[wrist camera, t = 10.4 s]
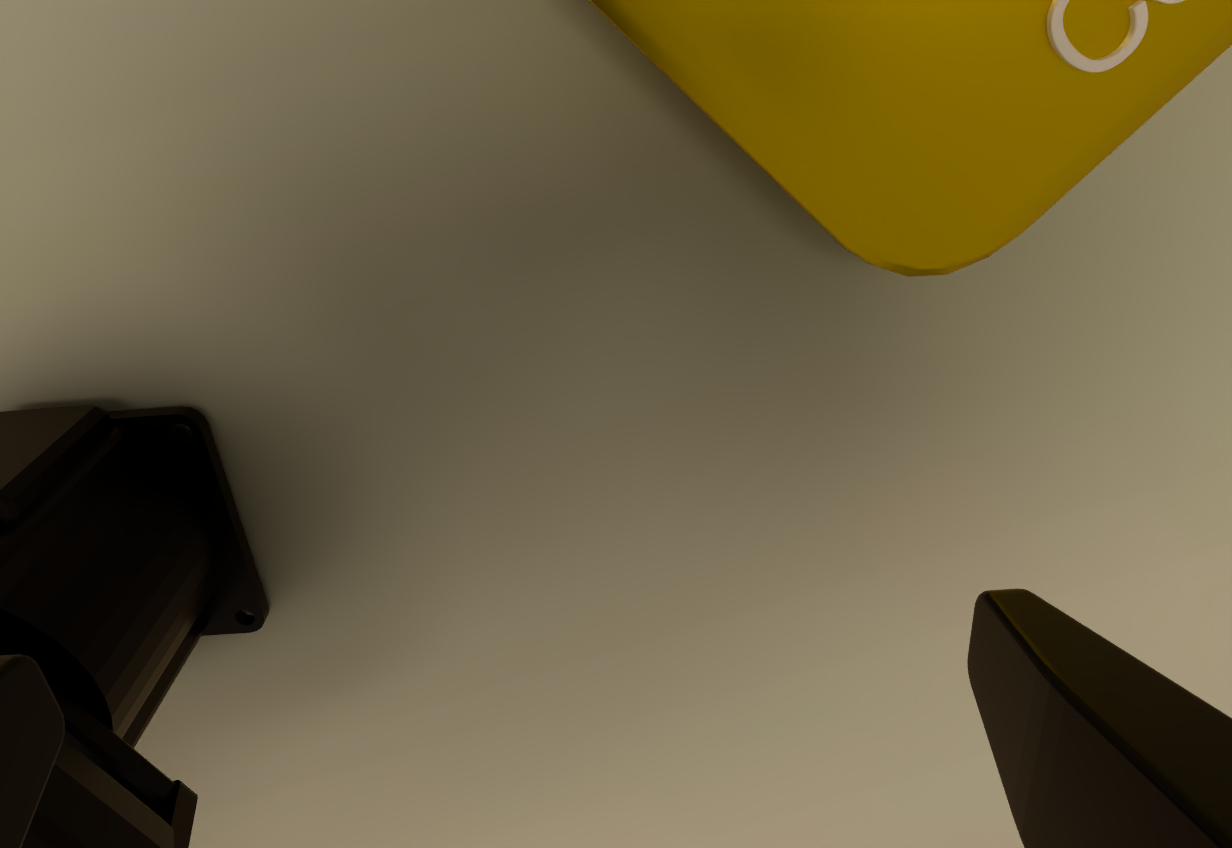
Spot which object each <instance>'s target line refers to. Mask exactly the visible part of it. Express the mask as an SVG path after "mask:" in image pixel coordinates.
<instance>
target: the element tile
mask: <svg viewBox="0 0 1232 848" xmlns="http://www.w3.org/2000/svg"><path fill="white" fill-rule="evenodd" d="M588 1H589V2H590V3H591V4H592V5H593V6H594V7H595V8H596V9H597V10H598V11H599V12H600V13H601V14H602V15H603V16H605V17H606V18H607V19H608V20H609V21H610V22H611V23H612V24H613V25H614V26H615V27H616V28H617V29H618V30H619V31H620V32H621V33H622V34H623V35H624V36H625V37H626V38H627V39H628V40H629V41H630V42H631V43H632V44H633V45H635V46H636V47H637V48H638V49H639V50H640V51H641V52H642V53H643V54H644V55H645V56H646V57H647V58H648V59H649V60H650V61H651V62H652V63H653V64H654V65H655V66H656V67H657V68H658V69H659V70H660V71H661V72H662V73H663V74H665V75H666V76H667V77H668V78H669V79H670V80H671V81H672V82H673V83H674V84H675V85H676V86H677V87H678V88H679V89H680V90H681V91H682V92H683V93H684V94H685V95H686V96H687V97H688V98H689V99H690V100H691V101H692V102H693V103H695V104H696V105H697V106H698V107H699V108H700V109H701V110H702V111H703V112H704V113H705V114H706V115H707V116H708V117H709V118H710V119H711V120H712V121H713V122H714V123H715V124H716V125H717V126H718V127H719V128H720V129H721V130H722V131H723V132H724V133H726V134H727V135H728V136H729V137H730V138H731V139H732V140H733V141H734V142H735V143H736V144H737V145H738V146H739V147H740V148H741V149H742V150H743V151H744V152H745V153H746V154H747V155H748V156H749V157H750V158H751V159H752V160H753V161H754V162H756V163H757V164H758V165H759V166H760V167H761V168H762V169H763V170H764V171H765V172H766V173H767V174H768V175H769V176H770V177H771V178H772V179H773V180H774V181H775V182H776V183H777V184H778V185H779V186H780V187H781V188H782V189H783V190H784V191H786V192H787V193H788V194H789V195H790V196H791V197H792V198H793V199H794V200H795V201H796V202H797V203H798V204H799V205H800V206H801V207H802V208H803V209H804V210H805V211H806V212H807V213H808V214H809V215H810V216H811V217H812V218H813V219H814V220H816V221H817V222H818V223H819V224H820V225H821V226H822V227H823V228H824V229H825V230H826V231H827V232H828V233H829V234H830V235H831V236H832V237H833V238H834V239H835V240H836V241H837V242H838V243H839V244H840V245H841V246H842V247H844V248H845V249H847V250H849V251H850V252H852V253H853V254H855V255H856V256H858V257H859V258H861V259H862V260H864V261H865V262H867V263H868V264H871V265H874V266H877V267H880V268H883V269H886V270H889V271H892V272H895V273H898V274H901V275H904V276H909V277H910V276H927V275H944V274H949V273H952V272H954V271H956V270H959V269H961V268H963V267H966V266H968V265H971V264H973V263H975V262H978V261H980V260H982V259H985V258H987V257H989V256H990V255H992V254H993V253H995V252H996V251H997V250H999V249H1000V248H1002V247H1003V246H1005V245H1006V244H1007V243H1009V242H1010V241H1012V240H1013V239H1015V238H1016V237H1017V236H1019V235H1020V234H1022V233H1023V232H1024V231H1025V230H1026V229H1027V228H1028V227H1029V226H1030V225H1032V224H1033V223H1034V222H1035V221H1036V220H1037V219H1038V218H1039V217H1040V216H1042V215H1043V214H1044V213H1045V212H1046V211H1047V210H1048V209H1049V208H1050V207H1052V206H1053V205H1054V204H1055V203H1056V202H1057V201H1058V200H1059V199H1061V198H1062V197H1063V196H1064V195H1065V194H1066V193H1067V192H1068V191H1069V190H1071V189H1072V188H1073V187H1074V186H1075V185H1076V184H1077V183H1078V182H1079V181H1081V180H1082V179H1083V178H1084V177H1085V176H1086V175H1087V174H1088V173H1089V172H1091V171H1092V170H1093V169H1094V168H1095V167H1096V166H1097V165H1098V164H1099V163H1101V162H1102V161H1103V160H1104V159H1105V158H1106V157H1107V156H1108V155H1109V154H1111V153H1112V152H1113V151H1114V150H1115V149H1116V148H1117V147H1118V146H1119V145H1121V144H1122V143H1123V142H1124V141H1125V140H1126V139H1127V138H1128V137H1130V136H1131V135H1132V134H1133V133H1134V132H1135V131H1136V130H1137V129H1138V128H1140V127H1141V126H1142V125H1143V124H1144V123H1145V122H1146V121H1147V120H1148V119H1150V118H1151V117H1152V116H1153V115H1154V114H1155V113H1156V112H1157V111H1158V110H1160V109H1161V108H1162V107H1163V106H1164V105H1165V104H1166V103H1167V102H1168V101H1170V100H1171V99H1172V98H1173V97H1174V96H1175V95H1176V94H1177V93H1178V92H1180V91H1181V90H1182V89H1183V88H1184V87H1185V86H1186V85H1187V84H1188V83H1190V82H1191V81H1192V80H1193V79H1194V78H1195V77H1196V76H1197V75H1199V74H1200V73H1201V72H1202V71H1203V70H1204V69H1205V68H1206V67H1207V66H1209V65H1210V64H1211V63H1212V62H1213V61H1214V60H1215V59H1216V58H1217V57H1219V56H1220V55H1221V54H1222V53H1223V52H1224V51H1225V50H1226V49H1227V48H1229V47H1230V46H1231V45H1232V0H588Z"/></svg>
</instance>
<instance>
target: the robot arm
mask: <svg viewBox="0 0 1232 848" xmlns="http://www.w3.org/2000/svg"><path fill="white" fill-rule="evenodd" d="M177 423H178V424H184V425H185V426H187V427H188V428H189V429H190V431H191V432H192V435H189V434H185V433H183V432H182V431H180V430H179V428H178V427H177ZM242 610H247V611H249V612H251V613H252V614H253V615H247V614H246V613H244V612H243V611H242ZM268 614H269V606H268V603H267V600H266V596H265V593H264V590H263V587H262V584H261V581H260V578H259V575H258V572H257V569H256V566H255V563H254V560H253V557H252V554H251V551H250V548H249V545H248V542H247V539H246V536H245V533H244V530H243V527H242V524H241V521H240V517H239V514H238V511H237V508H236V505H235V502H234V499H233V496H232V493H231V490H230V487H229V484H228V481H227V478H226V475H225V472H224V469H223V466H222V463H221V460H220V457H219V454H218V451H217V448H216V445H215V442H214V438H213V435H212V432H211V429H210V426H209V423H208V422H207V420H206V418H205V416H203V415H202V414H201V413H200V412H199V411H197V410H195V409H193V408H191V407H183V406H179V407H166V408H153V409H139V410H126V411H112V412H108V411H107V410H106V409H104V408H101V407H98V406H95V405H86V406H72V407H59V408H46V409H32V410H19V411H6V412H0V848H188V847H189V842H190V837H191V831H192V826H193V820H194V815H195V810H196V804H197V799H198V796H197V794H195V793H194V792H193V791H192V790H191V789H189V788H188V787H187V786H186V785H185V784H184V783H182V782H181V781H180V780H175V781H172V780H171V779H169V778H168V777H167V776H166V775H165V774H163V773H162V772H161V771H160V770H159V769H157V768H156V767H155V766H154V765H153V764H151V763H150V762H149V761H148V760H147V759H145V758H144V757H143V756H142V755H141V754H139V753H138V752H137V751H136V750H135V749H134V747H135V745H136V744H137V742H138V740H139V739H140V737H141V735H142V734H143V732H144V730H145V729H146V727H147V725H148V724H149V722H150V720H151V719H152V717H153V715H154V714H155V712H156V710H157V709H158V707H159V705H160V704H161V702H162V700H163V699H164V697H165V695H166V694H167V692H168V690H169V689H170V687H171V685H172V684H173V682H174V680H175V679H176V677H177V675H178V674H179V672H180V670H181V669H182V667H183V665H184V663H185V662H186V660H187V658H188V657H189V655H190V653H191V652H192V650H193V648H194V647H195V645H196V643H197V642H198V640H199V638H200V637H201V636H204V635H219V634H235V633H250V632H254V631H257V630H259V629H260V628H261V627H262V626H263V624H264V622H265V620H266V618H267V616H268ZM968 674H969V679H970V683H971V687H972V690H973V693H974V696H975V699H976V703H977V706H978V709H979V712H980V715H981V718H982V721H983V724H984V728H985V731H986V734H987V737H988V740H989V743H990V746H991V749H992V753H993V756H994V759H995V762H996V765H997V768H998V771H999V774H1000V778H1001V781H1002V784H1003V787H1004V790H1005V793H1006V796H1007V799H1008V803H1009V806H1010V809H1011V812H1012V815H1013V818H1014V821H1015V823H1016V826H1017V829H1018V832H1019V835H1020V838H1021V840H1022V843H1023V845H1024V848H1232V718H1231V717H1229V716H1227V715H1226V714H1224V713H1223V712H1221V711H1219V710H1218V709H1216V708H1215V707H1213V706H1211V705H1210V704H1208V703H1207V702H1205V701H1203V700H1202V699H1200V698H1199V697H1197V696H1196V695H1194V694H1192V693H1191V692H1189V691H1188V690H1186V689H1184V688H1183V687H1181V686H1180V685H1178V684H1176V683H1175V682H1173V681H1172V680H1170V679H1169V678H1167V677H1165V676H1164V675H1162V674H1161V673H1159V672H1157V671H1156V670H1154V669H1153V668H1151V667H1149V666H1148V665H1146V664H1145V663H1143V662H1141V661H1140V660H1138V659H1137V658H1135V657H1134V656H1132V655H1130V654H1129V653H1127V652H1126V651H1124V650H1122V649H1121V648H1119V647H1118V646H1116V645H1114V644H1113V643H1111V642H1110V641H1108V640H1106V639H1105V638H1103V637H1102V636H1100V635H1099V634H1097V633H1095V632H1094V631H1092V630H1091V629H1089V628H1087V627H1086V626H1084V625H1083V624H1081V623H1079V622H1078V621H1076V620H1075V619H1073V618H1072V617H1070V616H1068V615H1067V614H1065V613H1064V612H1062V611H1060V610H1059V609H1057V608H1056V607H1054V606H1052V605H1051V604H1049V603H1048V602H1046V601H1044V600H1043V599H1041V598H1040V597H1038V596H1037V595H1035V594H1033V593H1031V592H1030V591H1028V590H1025V589H1005V590H990V591H984V592H983V593H981V594H980V595H979V596H978V598H977V600H976V603H975V608H974V615H973V622H972V630H971V637H970V644H969V652H968Z"/></svg>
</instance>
